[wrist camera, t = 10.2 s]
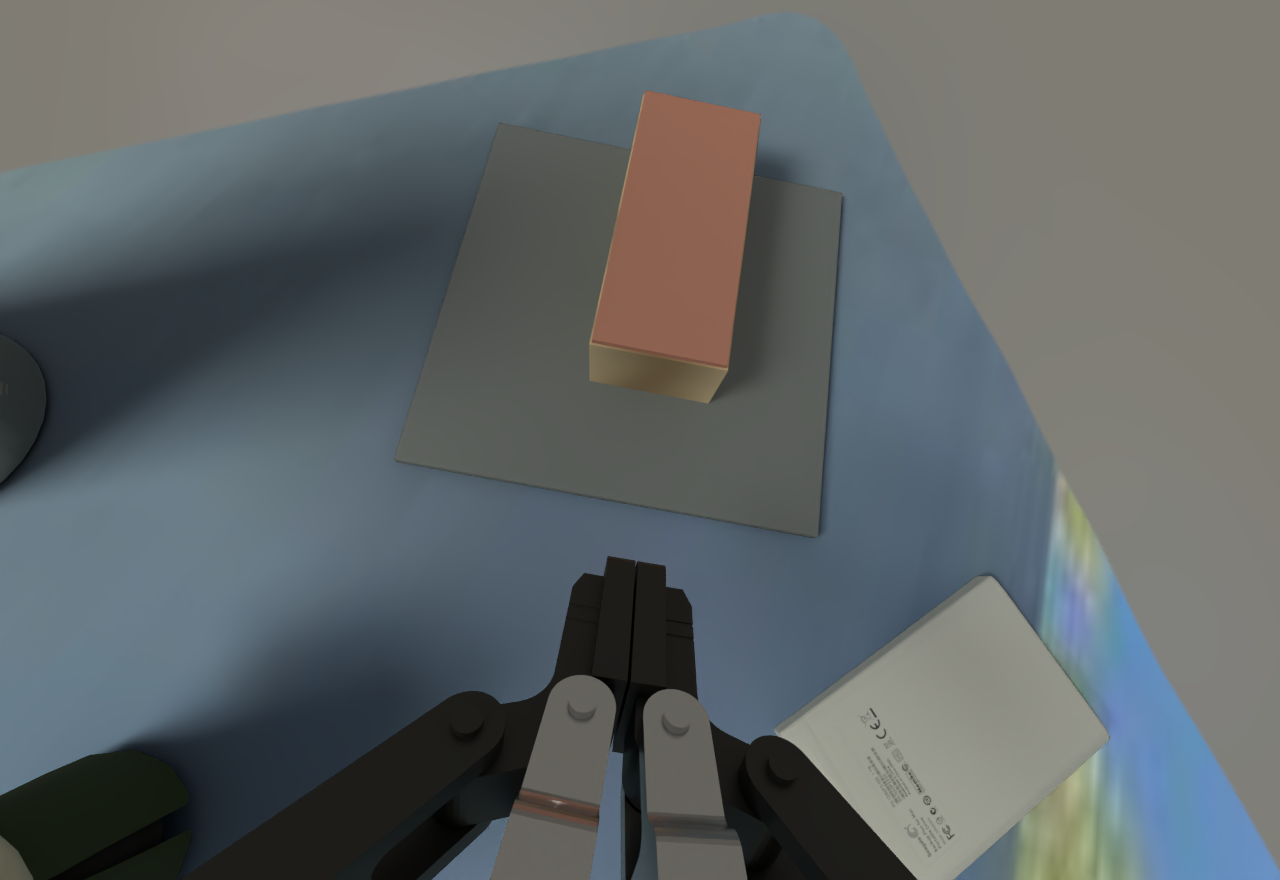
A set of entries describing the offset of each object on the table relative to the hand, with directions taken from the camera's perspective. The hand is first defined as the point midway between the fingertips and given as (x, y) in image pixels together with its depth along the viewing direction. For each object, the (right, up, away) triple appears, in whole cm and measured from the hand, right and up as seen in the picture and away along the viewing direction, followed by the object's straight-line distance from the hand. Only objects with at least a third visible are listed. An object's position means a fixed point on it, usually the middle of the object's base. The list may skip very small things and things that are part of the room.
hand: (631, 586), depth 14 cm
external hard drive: (+13, -9, +11) cm, 19 cm away
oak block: (+1, +7, +11) cm, 13 cm away
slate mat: (0, +10, +15) cm, 18 cm away
